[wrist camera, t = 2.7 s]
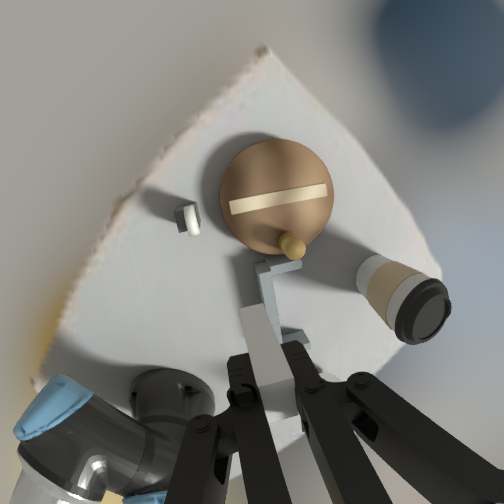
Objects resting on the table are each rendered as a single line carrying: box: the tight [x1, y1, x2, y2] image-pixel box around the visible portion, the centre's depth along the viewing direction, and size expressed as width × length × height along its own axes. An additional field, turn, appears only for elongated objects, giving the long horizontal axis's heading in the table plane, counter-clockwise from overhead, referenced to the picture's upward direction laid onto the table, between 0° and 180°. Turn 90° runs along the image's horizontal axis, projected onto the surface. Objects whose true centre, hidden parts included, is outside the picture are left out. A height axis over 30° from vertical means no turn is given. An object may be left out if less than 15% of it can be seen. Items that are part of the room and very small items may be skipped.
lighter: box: [174, 203, 201, 236], centre depth 30 cm, size 2×3×7 cm
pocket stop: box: [254, 254, 311, 350], centre depth 38 cm, size 6×14×4 cm, turn 11°
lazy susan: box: [220, 139, 334, 260], centre depth 31 cm, size 14×14×5 cm
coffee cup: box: [356, 255, 451, 345], centre depth 34 cm, size 9×9×15 cm
